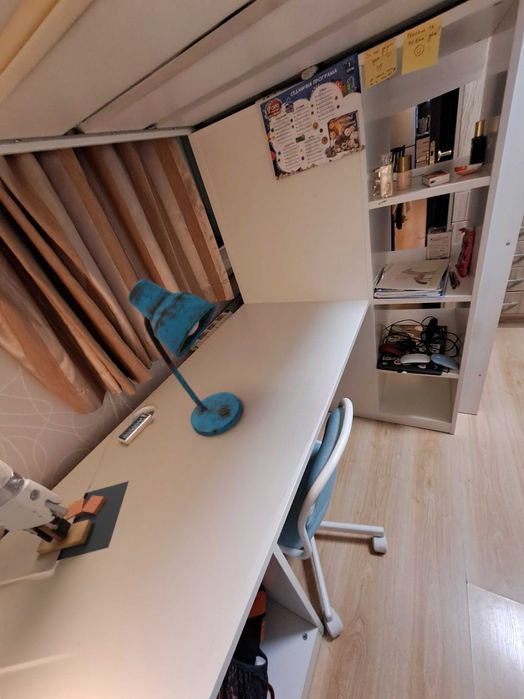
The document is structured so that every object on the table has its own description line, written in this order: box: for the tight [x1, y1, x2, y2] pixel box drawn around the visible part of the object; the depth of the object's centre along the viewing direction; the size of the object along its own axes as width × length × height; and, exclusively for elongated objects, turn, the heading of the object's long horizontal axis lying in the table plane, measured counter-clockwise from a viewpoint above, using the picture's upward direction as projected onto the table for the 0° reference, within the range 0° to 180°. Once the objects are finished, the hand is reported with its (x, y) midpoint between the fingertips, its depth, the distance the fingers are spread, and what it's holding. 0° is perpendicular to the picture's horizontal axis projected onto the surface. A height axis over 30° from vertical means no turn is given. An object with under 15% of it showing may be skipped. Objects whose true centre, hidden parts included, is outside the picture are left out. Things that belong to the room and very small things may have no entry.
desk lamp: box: [127, 278, 243, 437], centre depth 76 cm, size 16×22×45 cm
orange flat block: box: [64, 497, 87, 521], centre depth 73 cm, size 4×4×1 cm
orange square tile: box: [82, 495, 107, 515], centre depth 73 cm, size 4×4×1 cm
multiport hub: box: [117, 412, 155, 446], centre depth 93 cm, size 4×11×2 cm, turn 150°
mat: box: [55, 480, 130, 562], centre depth 71 cm, size 20×16×1 cm
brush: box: [35, 519, 95, 555], centre depth 65 cm, size 11×4×9 cm, turn 95°
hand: (59, 533), depth 66 cm, fingers closed on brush, 2 cm apart
